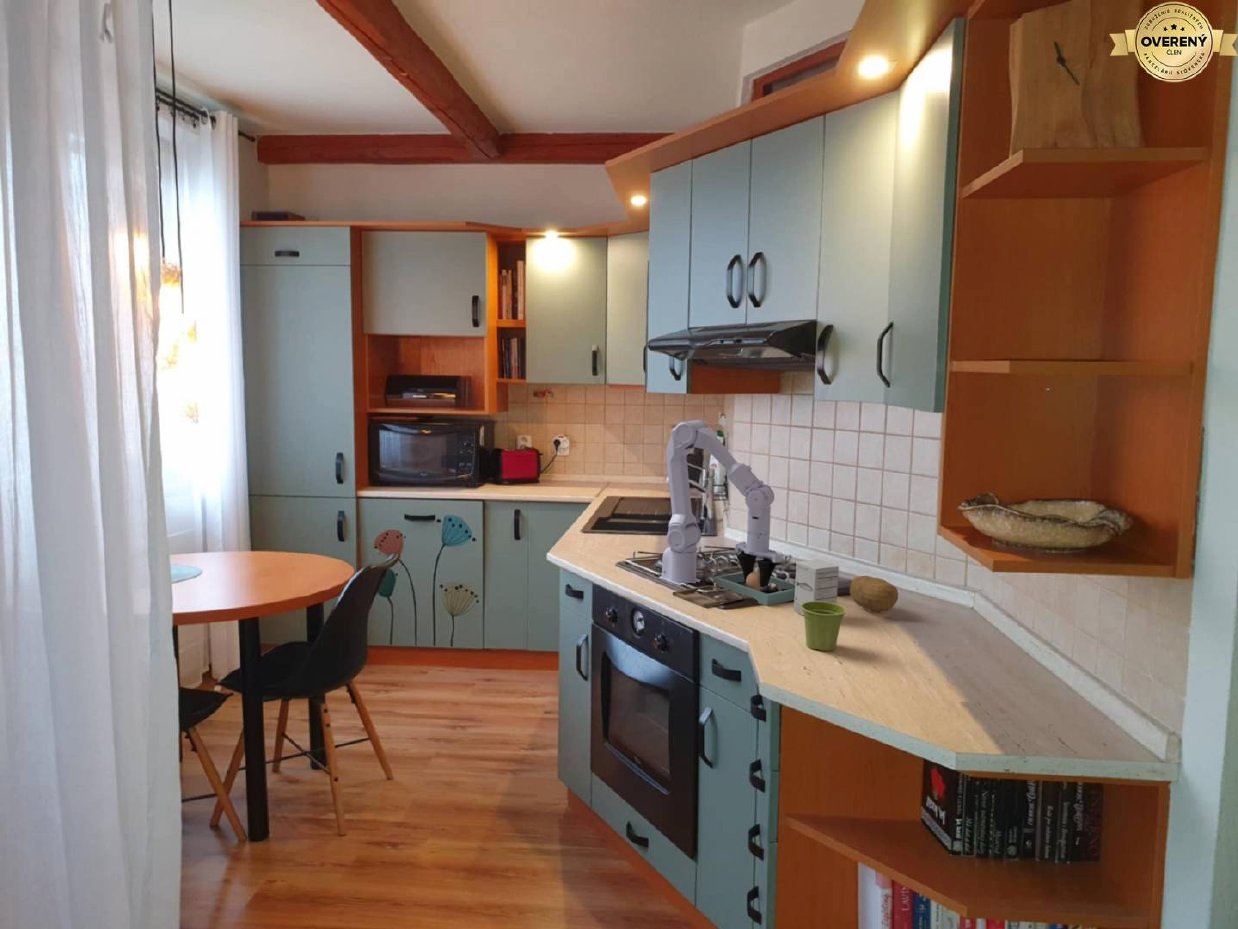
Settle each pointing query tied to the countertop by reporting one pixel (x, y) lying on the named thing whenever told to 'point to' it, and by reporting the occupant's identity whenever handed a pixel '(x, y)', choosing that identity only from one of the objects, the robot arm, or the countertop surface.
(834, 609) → the plant pot
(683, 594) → the wooden trivet
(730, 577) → the tray
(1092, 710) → the countertop surface
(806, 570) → the supplement box
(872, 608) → the potato
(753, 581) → the ball
